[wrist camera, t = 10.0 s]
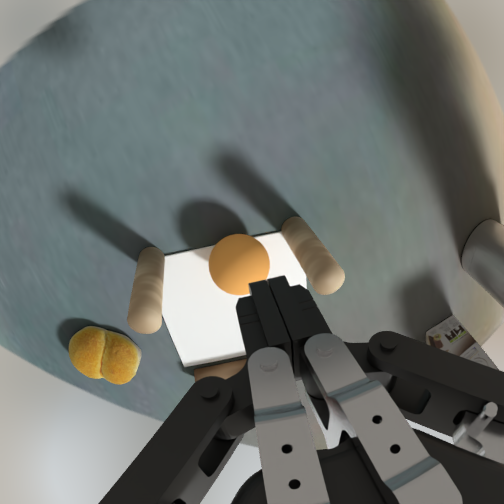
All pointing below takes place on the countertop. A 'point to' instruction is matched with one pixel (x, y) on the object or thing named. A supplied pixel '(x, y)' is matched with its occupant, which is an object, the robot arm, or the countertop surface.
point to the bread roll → (104, 354)
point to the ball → (238, 263)
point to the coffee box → (457, 341)
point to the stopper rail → (220, 370)
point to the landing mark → (213, 301)
